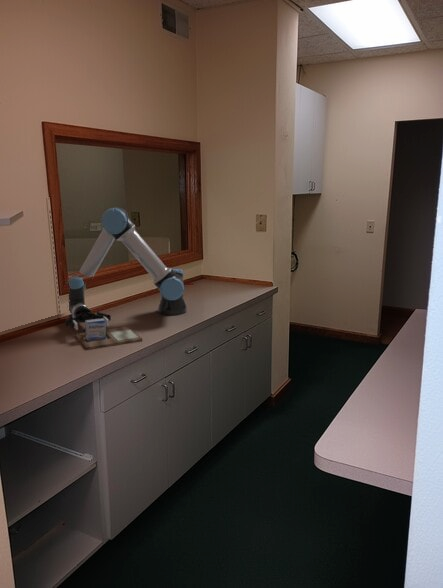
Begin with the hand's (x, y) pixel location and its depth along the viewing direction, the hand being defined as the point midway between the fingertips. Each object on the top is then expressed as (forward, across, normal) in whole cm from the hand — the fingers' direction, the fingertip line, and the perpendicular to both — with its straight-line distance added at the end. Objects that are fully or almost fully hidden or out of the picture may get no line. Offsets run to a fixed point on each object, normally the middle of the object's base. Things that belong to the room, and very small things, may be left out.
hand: (92, 325), depth 206 cm
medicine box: (+2, -1, -6) cm, 6 cm away
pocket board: (+4, -6, -6) cm, 9 cm away
